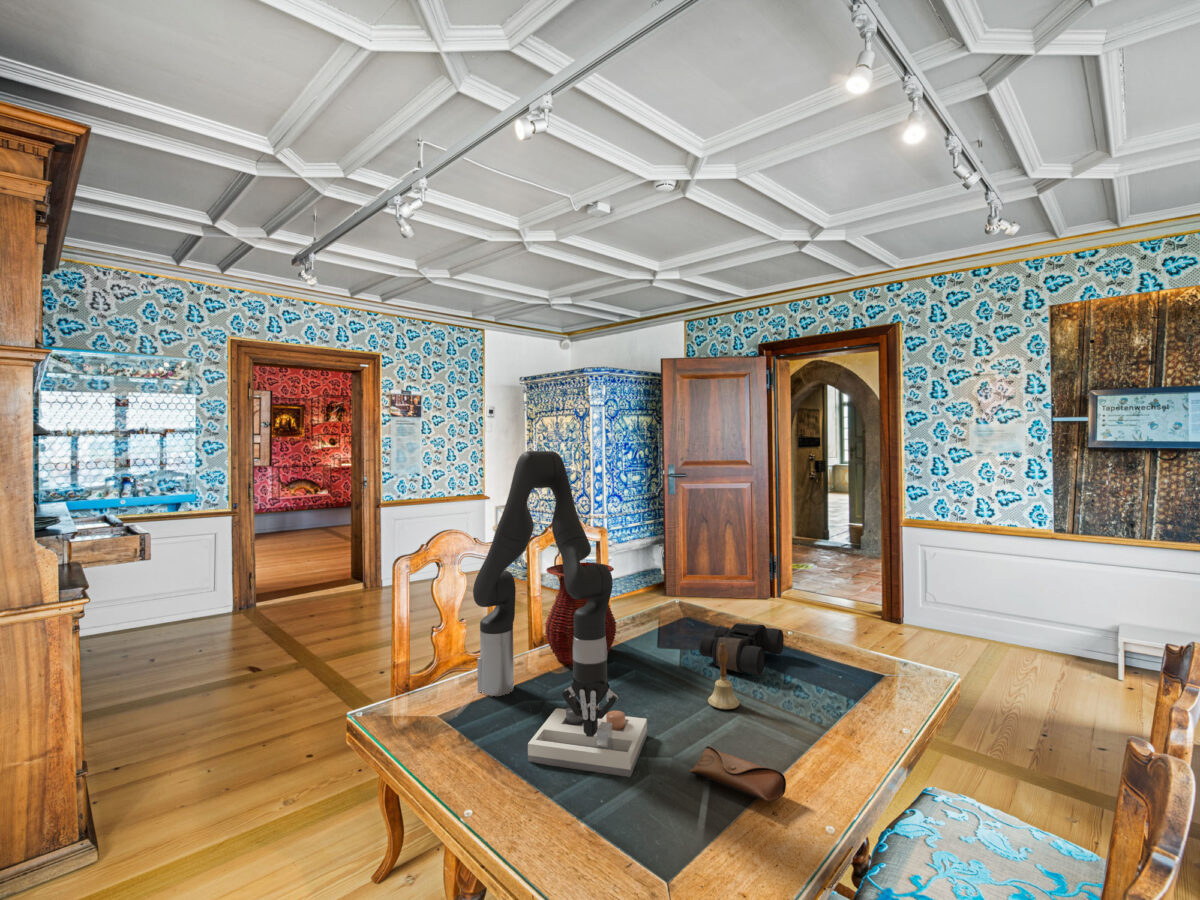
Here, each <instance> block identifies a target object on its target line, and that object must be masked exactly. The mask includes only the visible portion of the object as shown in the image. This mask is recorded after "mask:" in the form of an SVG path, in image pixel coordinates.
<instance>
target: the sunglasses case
mask: <svg viewBox="0 0 1200 900" xmlns="http://www.w3.org/2000/svg"><path fill="white" fill-rule="evenodd" d="M688 772H689V773H692V774H694V775H698V776H701V777H703V778H706V779H708V780H710V781H713V782H714V783H717V784H720V785H723V786H725V787H728V788H730V789H733V790H734V791H736V792H739V793H742V794H745V795H747V796H750V797H751V798H755V799H758V800H759V799H760V800H763V801H766V802H771V803H772V802H773V801H776V800H779V798H781V797H783V796H784V795H785V793H786V788H787V781H786V777H785V775H784V774H783V773H782V772H780V771H779V770H777V769H774V768H770V767H765V766H761V765H759V764H756V763H754V762H752V761H750V760H749V761H748V760H746V759H743V758H740V757H737V756H734V755H732V754H729V753H725V752H723V751H720V750H717V748H716V749H715V748H714V747H712V746H706V747H705V750H704V751H703V753H702V754H701V755H700V757H699V759H698V760H697V762H696V763H695V764H694V765H693V767H692V769H690V770H688Z"/></svg>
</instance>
